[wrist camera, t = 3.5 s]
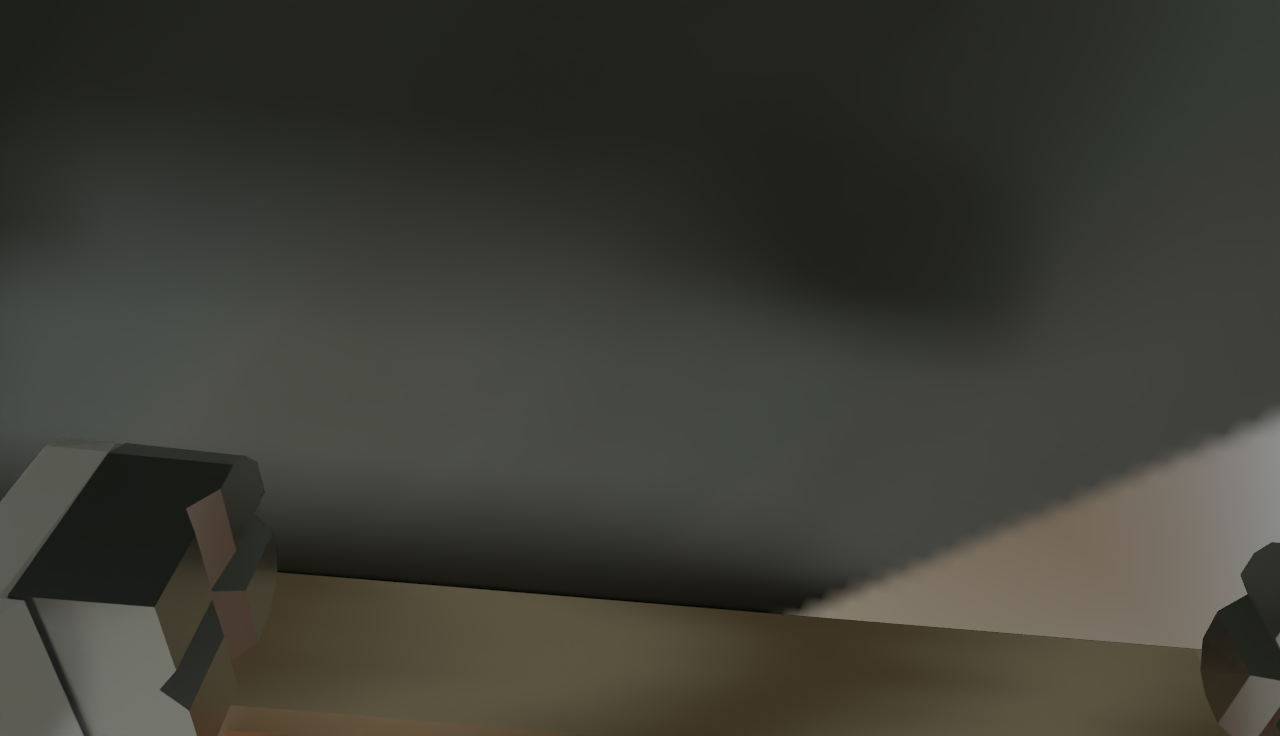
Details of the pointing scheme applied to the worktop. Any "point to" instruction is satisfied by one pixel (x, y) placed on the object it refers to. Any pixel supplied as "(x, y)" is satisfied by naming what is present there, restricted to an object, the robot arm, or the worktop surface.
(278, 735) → the block
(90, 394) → the worktop surface
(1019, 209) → the worktop surface
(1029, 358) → the worktop surface
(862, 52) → the worktop surface
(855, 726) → the trap board
